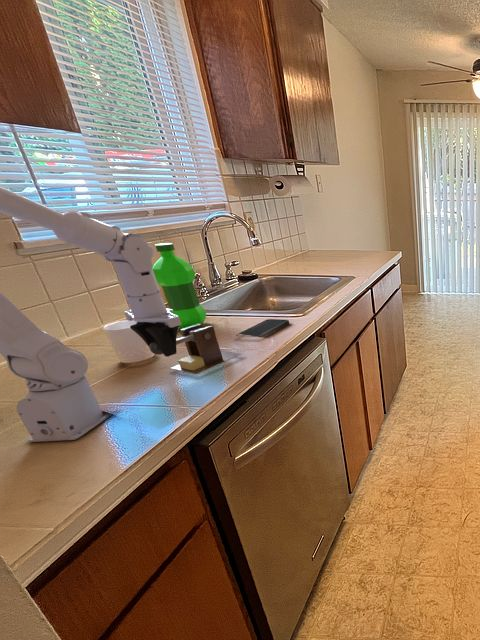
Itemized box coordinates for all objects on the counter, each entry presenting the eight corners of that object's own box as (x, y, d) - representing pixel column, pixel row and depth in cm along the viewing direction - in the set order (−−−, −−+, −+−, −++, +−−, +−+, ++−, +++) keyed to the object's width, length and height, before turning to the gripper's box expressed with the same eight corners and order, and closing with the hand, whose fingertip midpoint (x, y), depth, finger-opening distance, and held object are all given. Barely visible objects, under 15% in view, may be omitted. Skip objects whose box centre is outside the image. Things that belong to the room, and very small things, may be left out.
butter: (193, 370, 92) (190, 362, 91) (180, 367, 93) (177, 360, 93) (206, 365, 95) (203, 357, 94) (193, 362, 96) (191, 354, 95)
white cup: (137, 369, 96) (121, 330, 92) (111, 367, 97) (94, 328, 93) (166, 356, 103) (153, 319, 99) (141, 354, 104) (127, 318, 100)
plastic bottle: (207, 319, 131) (183, 240, 121) (212, 327, 124) (186, 244, 113) (170, 325, 125) (141, 243, 115) (173, 334, 118) (142, 248, 108)
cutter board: (198, 378, 91) (184, 338, 87) (171, 372, 94) (157, 334, 90) (243, 358, 101) (233, 321, 97) (218, 353, 104) (207, 318, 100)
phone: (290, 319, 125) (258, 336, 112) (291, 323, 125) (259, 340, 112) (267, 319, 126) (233, 335, 113) (268, 322, 127) (234, 339, 113)
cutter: (158, 357, 85) (153, 343, 84) (148, 355, 86) (143, 341, 85) (211, 340, 95) (207, 327, 94) (201, 338, 97) (198, 326, 95)
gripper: (186, 291, 83) (205, 351, 89) (141, 286, 88) (162, 343, 94) (150, 300, 77) (173, 363, 83) (104, 294, 82) (129, 354, 88)
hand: (165, 353), depth 88 cm, fingers closed on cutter, 3 cm apart
